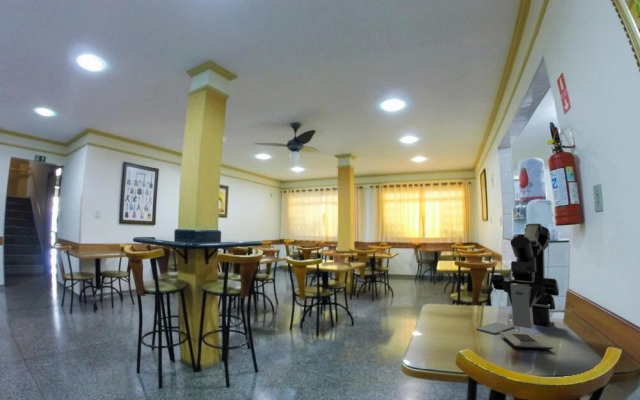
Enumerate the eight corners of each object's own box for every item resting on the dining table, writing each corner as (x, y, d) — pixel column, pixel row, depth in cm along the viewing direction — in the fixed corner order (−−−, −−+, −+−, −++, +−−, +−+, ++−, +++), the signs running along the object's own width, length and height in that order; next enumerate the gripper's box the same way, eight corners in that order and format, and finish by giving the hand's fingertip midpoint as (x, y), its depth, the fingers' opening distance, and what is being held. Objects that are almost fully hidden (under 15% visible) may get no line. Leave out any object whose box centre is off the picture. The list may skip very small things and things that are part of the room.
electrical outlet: (554, 354, 93) (553, 345, 93) (515, 351, 95) (514, 343, 95) (533, 339, 106) (532, 332, 106) (499, 337, 108) (499, 330, 108)
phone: (495, 325, 123) (495, 322, 123) (514, 329, 117) (514, 326, 117) (476, 331, 115) (476, 328, 116) (495, 336, 110) (495, 333, 110)
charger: (516, 322, 103) (513, 282, 105) (533, 325, 100) (530, 284, 101) (513, 325, 100) (510, 284, 102) (531, 328, 97) (527, 286, 98)
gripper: (490, 251, 112) (482, 286, 103) (554, 253, 99) (552, 293, 90) (497, 271, 117) (491, 306, 108) (559, 275, 104) (558, 316, 95)
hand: (520, 305), depth 100 cm, fingers closed on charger, 5 cm apart
